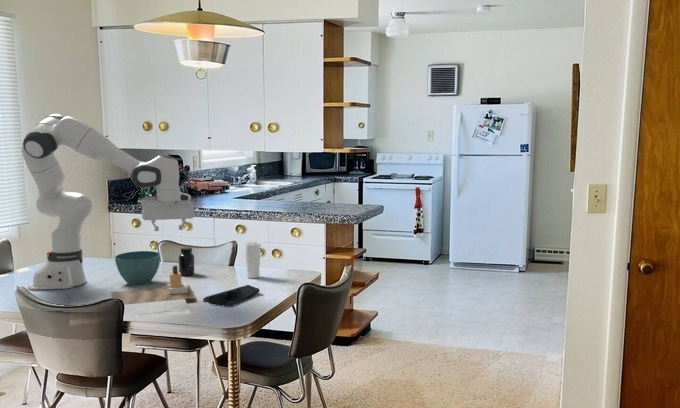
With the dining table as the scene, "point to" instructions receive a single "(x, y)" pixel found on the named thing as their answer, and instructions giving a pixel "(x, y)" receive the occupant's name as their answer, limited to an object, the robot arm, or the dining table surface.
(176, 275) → the tan block with tip
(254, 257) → the drinking glass
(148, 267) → the teal bowl
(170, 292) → the plug holder
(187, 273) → the supplement bottle
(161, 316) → the dining table surface
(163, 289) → the board
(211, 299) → the dark slate chunk
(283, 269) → the dining table surface
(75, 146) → the robot arm
